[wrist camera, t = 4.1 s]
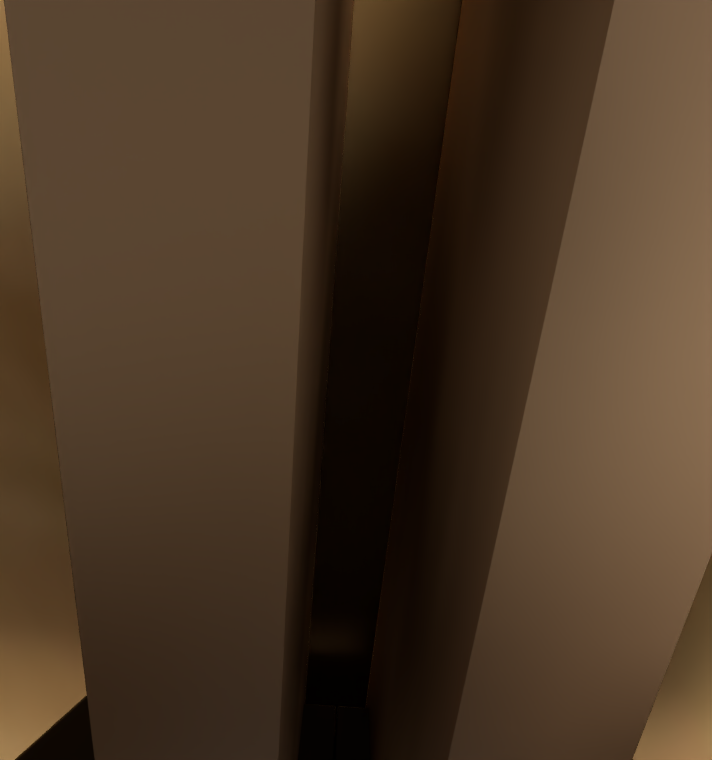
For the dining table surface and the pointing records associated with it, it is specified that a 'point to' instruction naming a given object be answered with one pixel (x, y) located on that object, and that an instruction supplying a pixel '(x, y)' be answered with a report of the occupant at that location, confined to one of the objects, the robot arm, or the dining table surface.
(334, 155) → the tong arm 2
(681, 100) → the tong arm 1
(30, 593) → the dining table surface
